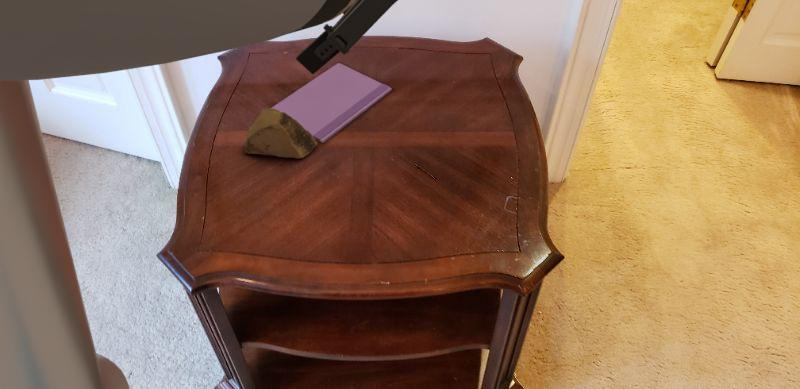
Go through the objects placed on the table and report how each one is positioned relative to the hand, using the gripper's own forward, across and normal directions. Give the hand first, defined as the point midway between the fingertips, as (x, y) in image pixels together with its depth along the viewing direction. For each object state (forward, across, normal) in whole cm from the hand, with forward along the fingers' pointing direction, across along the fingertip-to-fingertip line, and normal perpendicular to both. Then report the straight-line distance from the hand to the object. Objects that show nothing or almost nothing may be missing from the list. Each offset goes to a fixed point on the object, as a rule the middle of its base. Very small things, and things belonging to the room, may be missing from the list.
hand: (323, 35), depth 70 cm
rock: (+24, +1, -9) cm, 25 cm away
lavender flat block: (+20, +15, -12) cm, 28 cm away
